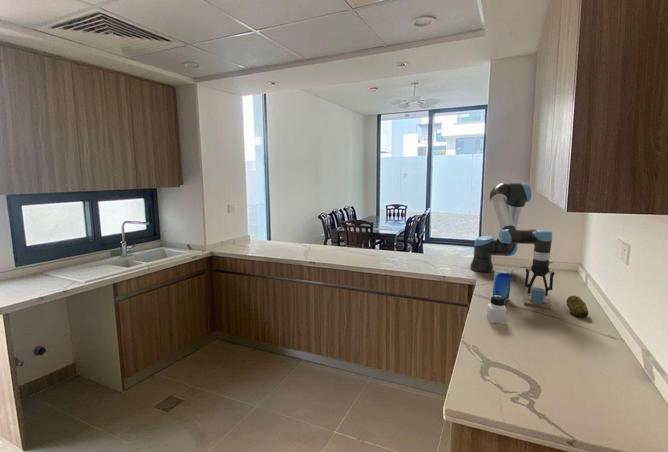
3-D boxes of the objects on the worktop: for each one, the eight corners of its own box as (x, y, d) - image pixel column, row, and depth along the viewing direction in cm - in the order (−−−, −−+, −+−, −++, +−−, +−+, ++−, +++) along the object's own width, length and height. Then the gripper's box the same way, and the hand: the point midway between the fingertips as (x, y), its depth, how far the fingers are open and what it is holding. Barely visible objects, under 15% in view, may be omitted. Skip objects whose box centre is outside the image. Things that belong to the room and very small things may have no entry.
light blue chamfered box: (530, 298, 197) (531, 287, 196) (542, 300, 195) (543, 288, 193) (531, 301, 192) (532, 290, 191) (543, 303, 190) (544, 291, 188)
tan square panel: (523, 297, 201) (524, 286, 200) (548, 300, 196) (549, 289, 195) (524, 304, 191) (525, 293, 190) (550, 308, 186) (551, 296, 185)
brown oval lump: (568, 317, 176) (570, 301, 174) (564, 307, 187) (566, 293, 186) (588, 320, 173) (590, 304, 171) (583, 310, 184) (585, 295, 183)
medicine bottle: (505, 324, 168) (508, 300, 166) (489, 322, 170) (491, 299, 168) (502, 317, 175) (504, 294, 173) (486, 316, 177) (488, 293, 175)
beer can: (505, 295, 203) (508, 268, 200) (511, 301, 195) (513, 273, 192) (490, 295, 204) (492, 268, 201) (495, 301, 196) (497, 273, 193)
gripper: (521, 258, 190) (517, 299, 194) (562, 263, 182) (557, 305, 186) (521, 255, 196) (517, 295, 201) (560, 259, 188) (555, 300, 193)
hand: (536, 300), depth 193 cm, fingers closed on light blue chamfered box, 6 cm apart
